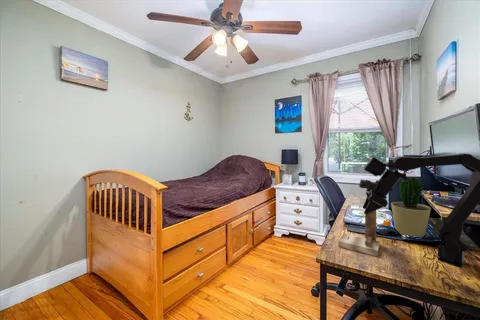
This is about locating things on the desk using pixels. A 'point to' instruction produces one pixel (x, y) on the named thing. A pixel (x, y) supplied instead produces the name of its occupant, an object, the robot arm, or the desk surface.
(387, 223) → the pipe clamp
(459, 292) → the desk surface
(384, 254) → the desk surface
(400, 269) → the desk surface
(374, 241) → the pine board
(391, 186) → the robot arm
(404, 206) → the potted cactus
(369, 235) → the tan upright block
